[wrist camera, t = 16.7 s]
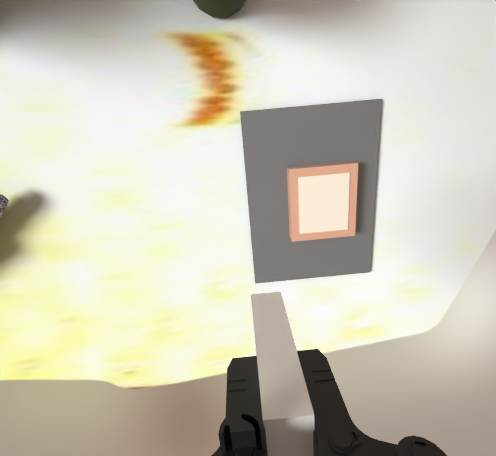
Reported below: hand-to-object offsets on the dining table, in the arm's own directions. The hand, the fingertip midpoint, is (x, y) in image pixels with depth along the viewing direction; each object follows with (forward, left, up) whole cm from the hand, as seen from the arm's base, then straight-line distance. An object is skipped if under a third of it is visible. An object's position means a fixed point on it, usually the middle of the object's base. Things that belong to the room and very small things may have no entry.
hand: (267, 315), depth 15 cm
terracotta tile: (0, +5, -21) cm, 22 cm away
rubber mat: (0, +8, -22) cm, 24 cm away
